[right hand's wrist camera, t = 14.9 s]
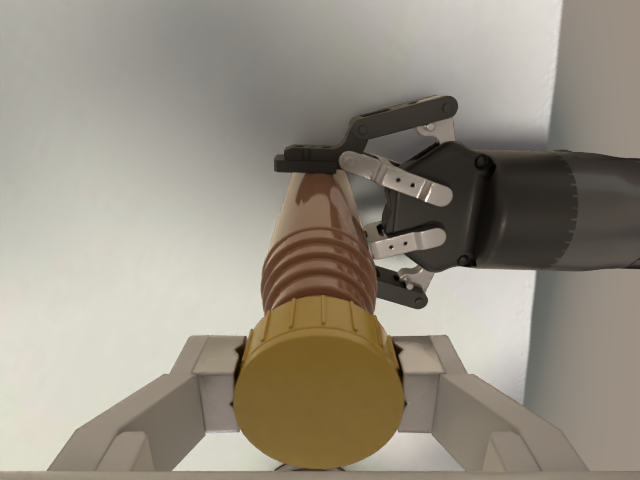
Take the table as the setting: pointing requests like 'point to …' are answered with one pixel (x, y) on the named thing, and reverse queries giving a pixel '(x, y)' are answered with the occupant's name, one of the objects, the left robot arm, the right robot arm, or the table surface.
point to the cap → (318, 384)
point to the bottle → (319, 245)
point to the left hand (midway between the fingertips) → (276, 203)
